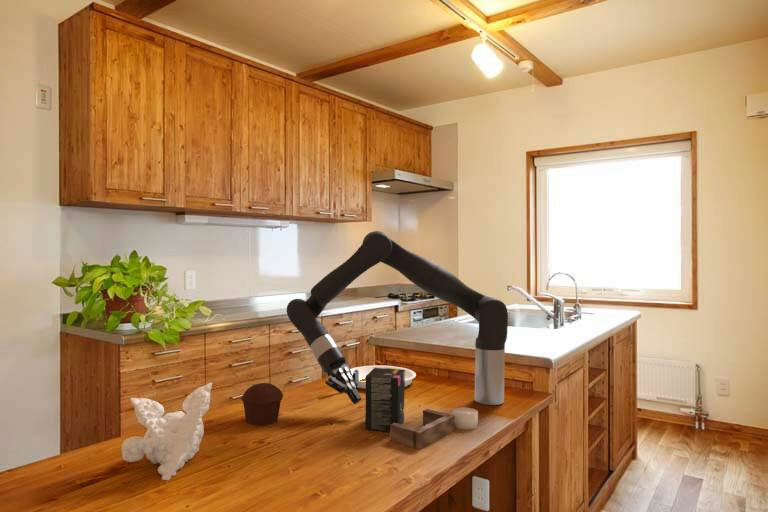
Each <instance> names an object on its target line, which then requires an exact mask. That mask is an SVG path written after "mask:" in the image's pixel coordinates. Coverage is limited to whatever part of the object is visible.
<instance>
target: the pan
mask: <svg viewBox="0 0 768 512" xmlns="http://www.w3.org/2000/svg"><path fill="white" fill-rule="evenodd" d="M374 368H383V369H386V368H388V369H400V370H405V388H407V387H408V385H409V386H410V385H411V384H412V382H413V379H414V378H416V376H417V373H416V372H415V371H413V370H411V369H410V368H409V369H408V368H405V367H402V366H401V367H399V366H393V365H364V366H357V367H353V368H350V369H351V370H354V371H355V370H356V369H357V370H358V371H359V385H358V386H357V388H358V389H360V388H361V389H360V390H366V381H360V380H362V379H365V378H366V375H367V374H369V373H370V372H371V371H372V370H373V369H374ZM357 388H356V389H357Z"/></svg>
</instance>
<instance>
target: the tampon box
mask: <svg viewBox="0 0 768 512" xmlns="http://www.w3.org/2000/svg"><path fill="white" fill-rule="evenodd" d="M405 388H406V387H405V370H400V369H388V368H386V369H383V368H374V369H373V370H372V371H371V372H370V373H369V374H367V375H366V389H365V416H364V417H365V423H364V424H365V426H364V429H365V430H367V431H378V432H379V431H380V432H388V433H390V425H391V424H393V423H398V424H402V425H404V423H405Z"/></svg>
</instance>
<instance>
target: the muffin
mask: <svg viewBox="0 0 768 512" xmlns="http://www.w3.org/2000/svg"><path fill="white" fill-rule="evenodd" d="M283 397H284V394H283V392H282V390H281V389H280V388H279V387H277V386H276V385H274V384H272V383H268V382H263V383H256V384H254V385H251V386H250V387H248V388H247V389H246V390H245V391H244V393H243V395H242V396H241V397H240V400H241V401H242V403H243V410H244V417H245V422H246V423H247V424H249V425H252V426H267V425H272V424H274V423H276V422H278V420H279V414H280V408H281V403H282V400H283Z"/></svg>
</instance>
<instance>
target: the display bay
mask: <svg viewBox="0 0 768 512" xmlns="http://www.w3.org/2000/svg"><path fill="white" fill-rule="evenodd" d="M424 425H425V426H424ZM455 431H456V428H455V415H452V414H450V413H445V412H442V411H441V412H440V411H437V410H433V409H429V408H425V409H424V410H422V426H421V427H418V428H416V427H412V426H409V425H405V424H398V423H393V424H391V425H390V432H389V441H390V440H391V442H393V441H394V443H397V444H401V445H405V446H407V447H411V448H414V449H418V450H421V449H423V448H424V447H427V446H428V445H430V444H432V443H435V442H436V441H438V440H440V439H442V438H443V437H446V436H448V435H449V434H451V433H453V432H455Z"/></svg>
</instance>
